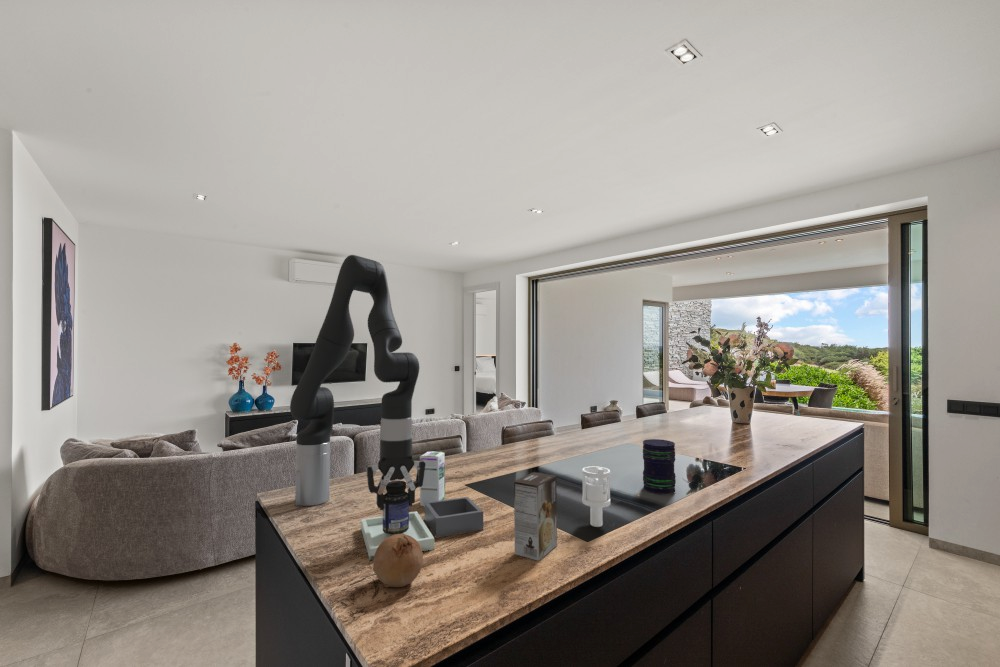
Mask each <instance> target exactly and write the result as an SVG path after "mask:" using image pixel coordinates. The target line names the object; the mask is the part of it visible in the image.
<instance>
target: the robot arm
mask: <svg viewBox="0 0 1000 667" xmlns="http://www.w3.org/2000/svg"><path fill="white" fill-rule="evenodd" d="M387 278H388V277H387V274H386V271H385V268H384V266H383V264H382V263H380V262H379V261H377V260H373V259H371V258H366V257H363V256H359V255H355V254H350V255H348V256H346V257H345V259H344V260H343V261H342V264H341V266H340V269H339V272H338V274H337V278H336V283H335V286H334V290H333V294H332V297H331V299H330V303H329V307H328V309H327V311H326V316H325V318H324V319H323V323H322V326H321V328H320V329H319V332H318V335H317V337H316V340H315V343H314V347H313V350H312V352H311V355H310V357H309V359H308V362H307V365H306V367H305V370H304V372H302V373H303V374H302V375H301V378H300V380H299V381H298V383H297V385H296V387H295V389H294V391H293V394H292V396H291V399H290V404H289V405H290V406H289V410H290V414H291V416H292V418H293V419H294V420H296V421H309V420H310V423H309V424H308V425H307V426H306V427H305V428H304V429H301V431H299V432H298V433H297V434H296V451H295V453H296V454H295V456H296V457H295V458H296V459H295V460H296V462H295V497H294V499H295V504H294V505H295V507H297V506H303V507H304V506H306V507H307V506H309V507H310V506H316V505H321V504H325V503H326V502H329V500H330V491H331V490H330V484H331V483H330V482H331V481H330V479H331V477H330V476H331V435H332V433H333V426H334V415H335V414H334V412H335V400H334V395H333V393H332V391H331V390H330V389H329V388H328V387H325V386H322V385H323V383H324V381H325V380H326V379H327V378H328V377H329V375H330V374H332V373H333V372H334V371H335V370H336V369H337V368H338V367H339V366H341V364H342V363H343V361H345V359H346V357H347V356H348V354H349V351H350V349H351V346H352V343H353V341H354V338H355V329H354V325H353V321H352V317H351V314H350V302H351V297H352V294H353V292H354V291H355V292H356V291H357V292H361V293H366V294H370V297H371V298H372V300H373V305H372V307H371V309H370V311H369V314H368V315H367V316H368V317H367V329H368V332H369V336H370V338H371V340H372V345H373V352H374V354H373V355H374V356H373V357H374V358H373V372H374V375H375V378H377V379H378V380H379V381H380V382H382V383H398V385H397V387H396V389H395V390H392V391H389V392H386V393H384V394H383V395H382V396H381V415H380V418H381V419H380V420H381V421H380V428H379V429H380V430H379V460H378V463H376V464H372V465H371V464H367V465H366V466H365V471H366V479H367V487H368V490H369V492H370V493H371V494H373V493H375V494H376V505H377V506H376V507H377V508H378V509H379V511H383V510H384V494H385V493H384V491H385V490H386V486H387V484H388V482H391V481H397V480H398V481H403V480H405V481H404V482H406V485H407V487H408V488H407V493H408V494H409V507H413V504H415V502H416V490H417V488H420V487H422V485H423V479H424V472H425V462H424V461H423V460H420V459H419V460H414V459H413V435H414V430H413V420H412V415H413V414H412V413H413V412H412V404H413V403H412V401H413V396H414V393H415V388H416V384H417V381H418V378H419V373H420V361H419V359H418V357H417V356H416V355H415V354H414V353H412V352H396V351H398V350H399V349H400V348H401V347H402V345H403V338H402V334H401V332H400V330H399V326H398V324H397V322H396V318H395V316H394V313H393V308H392V302H391V296H390V290H389V285H388V279H387ZM414 466H415V470H416V475H415V476H416V479H415V480H414V481H413V480H412V477H411V476H410V471H411V470H412V469H413V467H414ZM377 470H379V471H380V473H381V474H382V475H381V477H380V479H379V482H378V484H377V485H375V479H374V478H375V477H374V475H376V474H377Z"/></svg>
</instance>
